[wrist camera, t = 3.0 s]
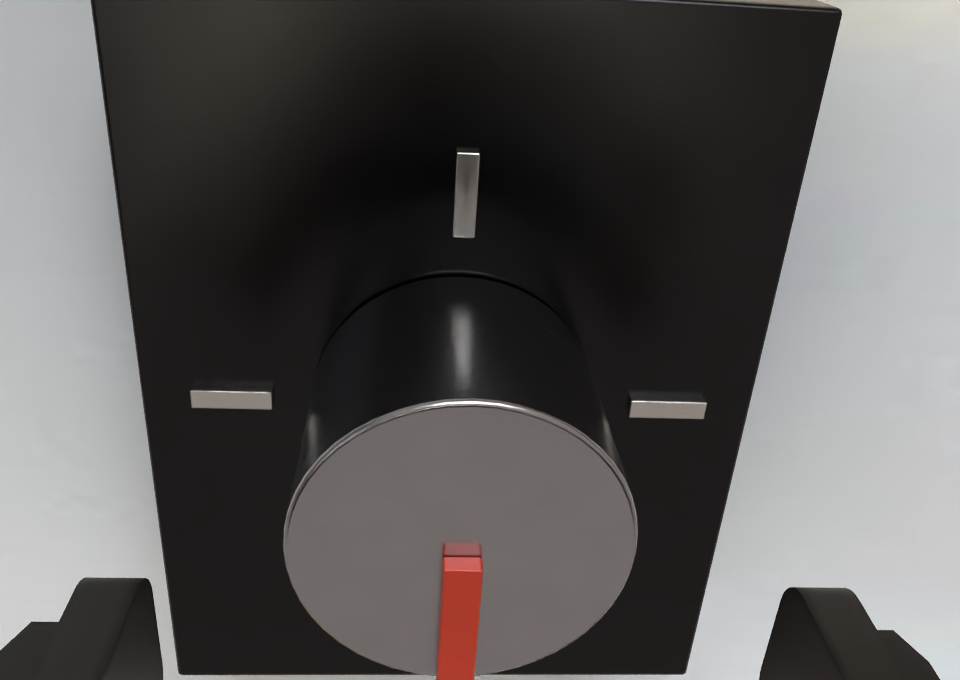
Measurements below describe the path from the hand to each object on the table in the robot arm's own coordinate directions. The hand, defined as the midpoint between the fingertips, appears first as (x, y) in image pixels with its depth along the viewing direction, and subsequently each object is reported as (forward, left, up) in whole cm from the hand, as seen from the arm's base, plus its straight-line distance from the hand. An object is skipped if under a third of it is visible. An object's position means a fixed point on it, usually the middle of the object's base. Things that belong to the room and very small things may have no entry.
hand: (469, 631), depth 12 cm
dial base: (0, 0, -9) cm, 9 cm away
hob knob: (0, 0, -5) cm, 5 cm away
